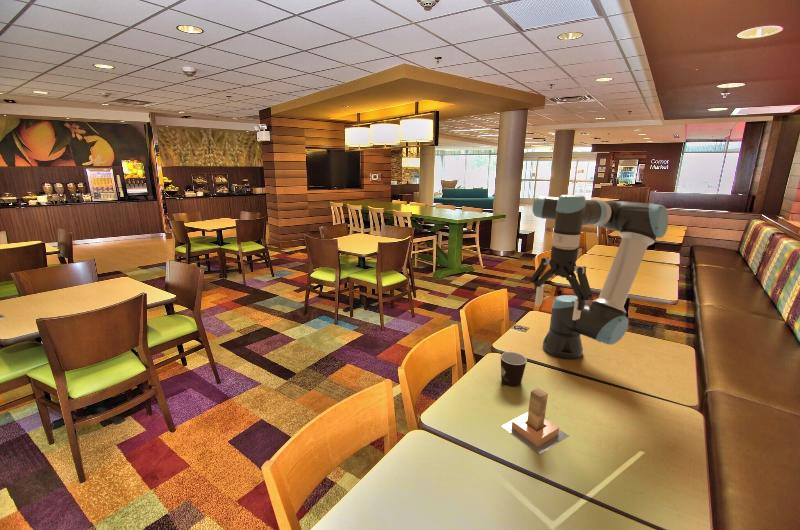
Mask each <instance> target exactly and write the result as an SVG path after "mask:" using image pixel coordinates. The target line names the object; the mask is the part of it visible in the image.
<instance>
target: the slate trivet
mask: <svg viewBox="0 0 800 530" xmlns="http://www.w3.org/2000/svg"><path fill="white" fill-rule="evenodd" d="M526 413H528V411H526V412H525V413H523V414H521V415H519V416H518V417H515V418H513V419H512V420H510V421H507V423H504V424H503V425H501V427H502V428H503V429H505V430H506V431H507V433H510V434H511V435H512V436H514V437H515V439H516V438H517V440H519V441H521V442H522V444H524V445H526V446H527V447H528V448H530V449H531V450H532V451H534V452H535V453H536V454H537V455H539V456H540V455H542V454H543V453H545V452H546V451H548V450H549V449H551V448H553V447H554V446H556V445H557V444H559V443H560V442H562V441H563V440H565V439H566V438H568V437H570V435H569V434H567V433H565V431H563V430H561V429H560V428H559V433H558V435H556V436H555V437H553V438H551V439H550V440H548V441H547V442H545V443H543V444H542V445H540V446H539V447H537V446H536V445H535V444H533V443H532V442H530V441H529V440H528V439H526V438H525V437H524V436H522V435H521V434H520V433H518V432H517V431H516V430H514V429H513V428H511V427H512V421H513V420H515V419H517V418H519V417H521V416H522V415H524V414H526Z"/></svg>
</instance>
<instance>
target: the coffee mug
mask: <svg viewBox="0 0 800 530" xmlns="http://www.w3.org/2000/svg"><path fill="white" fill-rule="evenodd" d="M527 361H528V360H527V357H526V356H525V355H523V354H521V353H518V352H516V351H506V352H504V351H502V352H500V375H501V376H500V377H501V385H502V386H503V387H504V386H507V387H509V388H510V387H511V388H517V387H519V386H521V384H522V381H523V377H524V374H525V373H524V372H525V369H526V366H527Z"/></svg>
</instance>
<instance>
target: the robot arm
mask: <svg viewBox="0 0 800 530" xmlns="http://www.w3.org/2000/svg"><path fill="white" fill-rule="evenodd" d="M532 213H533V215H534V216H535V217H537V218H541V219H545V220H546V219H547V220H551V221H553V220H554V227H553V234H552V246H551V249H550V250H551V251H550V257H549V256H546V257H542V258H541V260H540V264H539V265H538V267H537V269H536V271H535V272H534V273H533V275H532V276H531V278H530V280H529V282H530V284H531V283H532V284H533V285H534V295H535V299H534V307H535V306H536V307H538V306H541V305H542V304H543V299H544V298H543V297H544V291H545V290H544V289H545V285H543V284H544V283H545V282H546V281H548V280H549V279H550V278H551V277H552V276H553V275H554V276H556V277H558V276H559V277H560V278H563V279H564V278H565V280H567V281H568V282H569V285H570V286H571V288H572V290H573V292H574V294H575V295H572V294H571V295H570V294H568V295H567V294H564V295H559V296H556V297H555V298H553V300H552V301H553V302H552V306H551V314H550V323H549V327H548V328H549V330H548V331H547V333H546V335H545V336H544V339H543V341H542V349H543V351H544V352H546V353H547V354H549V355H550V356H553V357H555V358H560V359H564V360H576V359H579V358H581V357H582V356H583V352H584V348H583V347H584V346H583V344H582V338H581V335H582V336H584V337H586V338H589V339H592V340H594V341H597V342H598V343H602V344H606V345H609V346H610V345H614V344H617V343H618V342H619V341H620V340H621V339H622V338H623V337H624V336H625V334H626V332H627V330H628V327H629V323H630V322H629V319H628V317H627V316H626V314H627V311H626V309H625V307H624V306H625V304H626V302H627V299H628V296H629V293H630V292H631V289H632V286H633V284H634V281H635V278H636V277H637V274H638V271H639V269H640V266H641V265H642V262H643V259H644V256H645V254H646V253H647V249H648V247H649V246H651V245H654V243H655V241H656V239H661V238H663V237H664V236H665V235H666V233H667V230H668V225H669V213H668V209H667V208H666V206H664V205H662V204H655V203H652V202H651V203H649V202H648V203H645V202H636V201H624V200H611V201H610V200H609V201H603V200H598V199H589V200H588V199H586V197H585V196H584V195H581V194H561V195H560V196H559V197H558V196H557V197H555V196H548V195H540V196H537V197H536V198H535V200H534V202H533V204H532ZM588 225H591V226H594V227H601V228H603V229H607V230H612V231H616V232H619V233H618V234H619V236H620V238H621V241H620V243H619V246H618V248H617V251H616V253H615V255H614V258H613V261H612V263H611V266H610V268H609V271H608V273H607V276H606V277H605V281H604V282H603V286H602V288H601V291H600V294H599V296H598V298H596V299H593V297H594V296H593V293H592V290H591V287H590V283H589V281H588V277H587V267H586V266H584V265H583V266H577V263H576V262H577V260H578V256H579V255H578V254H579V249H578V248H579V247H580V241H581V234H582V226H588ZM548 265H549V266H550V268H549V269H548V270H547V271H546V272H545V270H546V269H547V268H548ZM544 272H545V273H544ZM543 273H544V274H543ZM592 299H593V300H592ZM589 300H592V301H591V303H590V305H589V304H587V301H589Z"/></svg>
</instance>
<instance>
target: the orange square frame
mask: <svg viewBox="0 0 800 530" xmlns="http://www.w3.org/2000/svg"><path fill="white" fill-rule="evenodd" d="M525 413H526V414H525ZM525 413H523V414H524V415H523V414H521V415H522V416H521V415H520V416H521V417H519V416H518V417H519V418H517V417H516V418H517V419H515V418H514V419H515V420H514V419H512V420H513V421H512V420H511V421H512V427H511V428H513V429H514V430H516V431H517V432H518V433H520V434H521V435H522V436H524V437H525V438H526V439H528V440H529V441H530V442H532V443H533V444H535V445H536V446H537V447H539V446H540V445H542V444H543V443H545V442H547V441H548V440H550V439H551V438H553V437H555V436H556V435H558V433H559V429H560V426H557V425H556V424H554V423H553V422H552V421H550V420H548V419H547V418H545V419H544V426H543V429H541V430H539V431H538V432H537V431H535V430H534V429H532V428H531V427H530V426H528V425H527V418H528V413H527V412H525Z"/></svg>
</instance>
